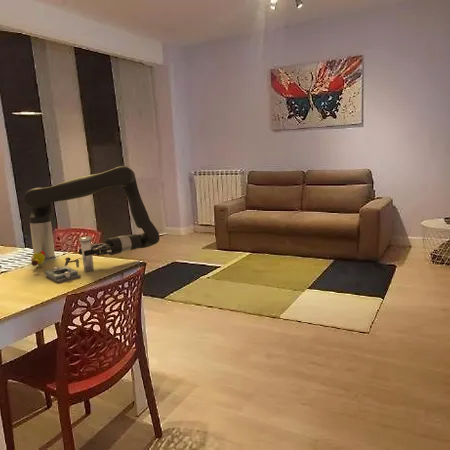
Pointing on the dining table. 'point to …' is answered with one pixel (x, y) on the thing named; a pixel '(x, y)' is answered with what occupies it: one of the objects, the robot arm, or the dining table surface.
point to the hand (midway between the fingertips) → (82, 252)
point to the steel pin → (85, 246)
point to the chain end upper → (56, 270)
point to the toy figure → (38, 259)
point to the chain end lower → (66, 278)
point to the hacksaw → (72, 261)
